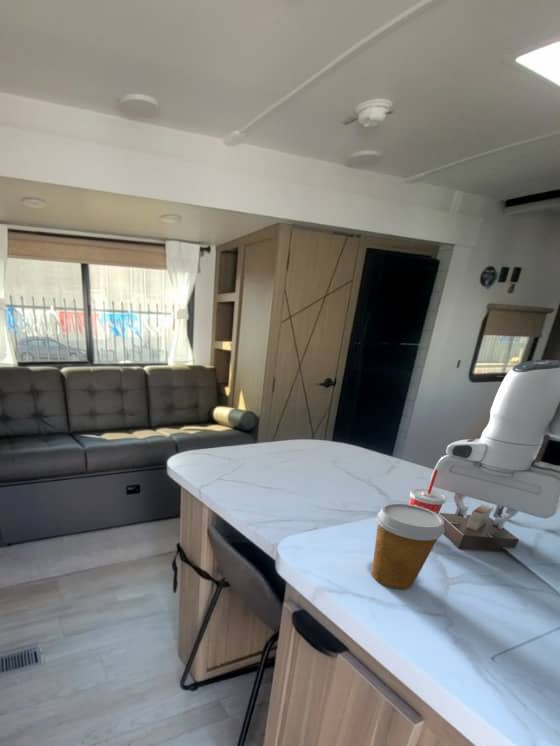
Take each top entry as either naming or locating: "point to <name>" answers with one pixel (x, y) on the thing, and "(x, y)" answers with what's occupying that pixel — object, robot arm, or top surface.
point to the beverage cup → (428, 497)
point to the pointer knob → (479, 517)
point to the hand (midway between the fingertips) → (478, 521)
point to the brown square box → (477, 534)
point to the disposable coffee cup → (404, 543)
